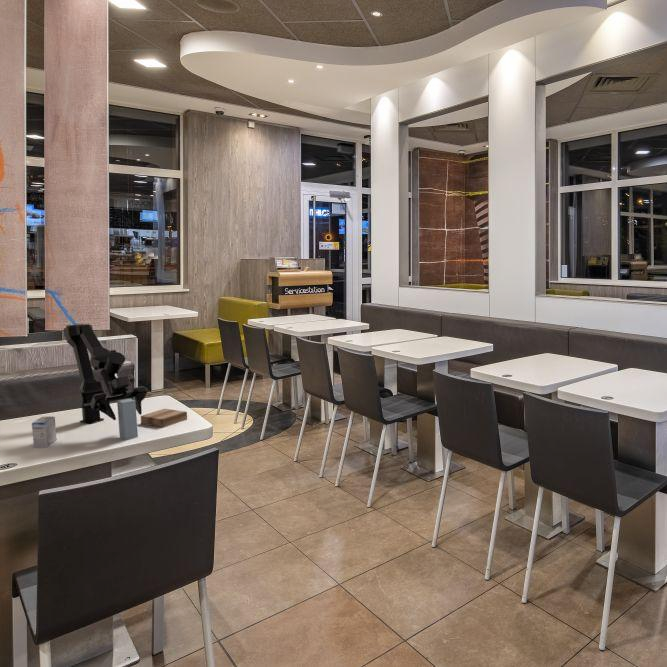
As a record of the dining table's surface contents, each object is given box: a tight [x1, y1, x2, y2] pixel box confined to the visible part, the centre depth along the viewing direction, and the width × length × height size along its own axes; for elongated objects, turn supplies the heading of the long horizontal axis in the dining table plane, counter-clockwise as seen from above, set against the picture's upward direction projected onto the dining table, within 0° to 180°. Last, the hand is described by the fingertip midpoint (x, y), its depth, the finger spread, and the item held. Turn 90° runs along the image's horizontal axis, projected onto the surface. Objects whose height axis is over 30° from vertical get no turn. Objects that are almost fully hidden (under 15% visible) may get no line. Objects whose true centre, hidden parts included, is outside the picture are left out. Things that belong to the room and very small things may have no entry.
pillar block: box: [116, 398, 139, 441], centre depth 192 cm, size 4×4×13 cm
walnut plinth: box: [140, 408, 188, 428], centre depth 212 cm, size 12×12×3 cm
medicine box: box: [31, 415, 57, 449], centre depth 187 cm, size 8×4×9 cm, turn 5°
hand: (128, 416), depth 191 cm, fingers open, 9 cm apart
